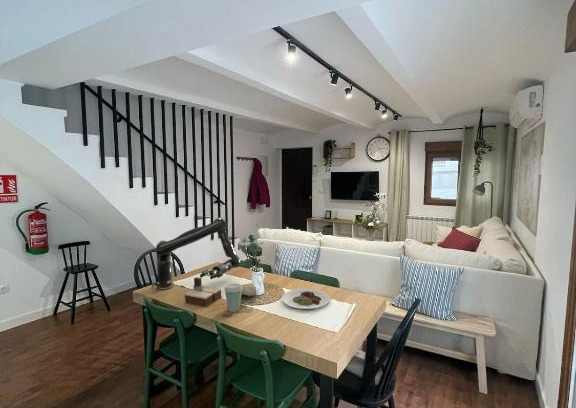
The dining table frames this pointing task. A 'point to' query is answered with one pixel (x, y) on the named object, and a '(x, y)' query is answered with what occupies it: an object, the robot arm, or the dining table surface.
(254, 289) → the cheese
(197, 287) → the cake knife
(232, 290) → the disposable coffee cup
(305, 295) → the plated food
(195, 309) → the dining table surface
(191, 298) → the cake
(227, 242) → the robot arm
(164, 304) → the dining table surface
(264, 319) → the dining table surface
